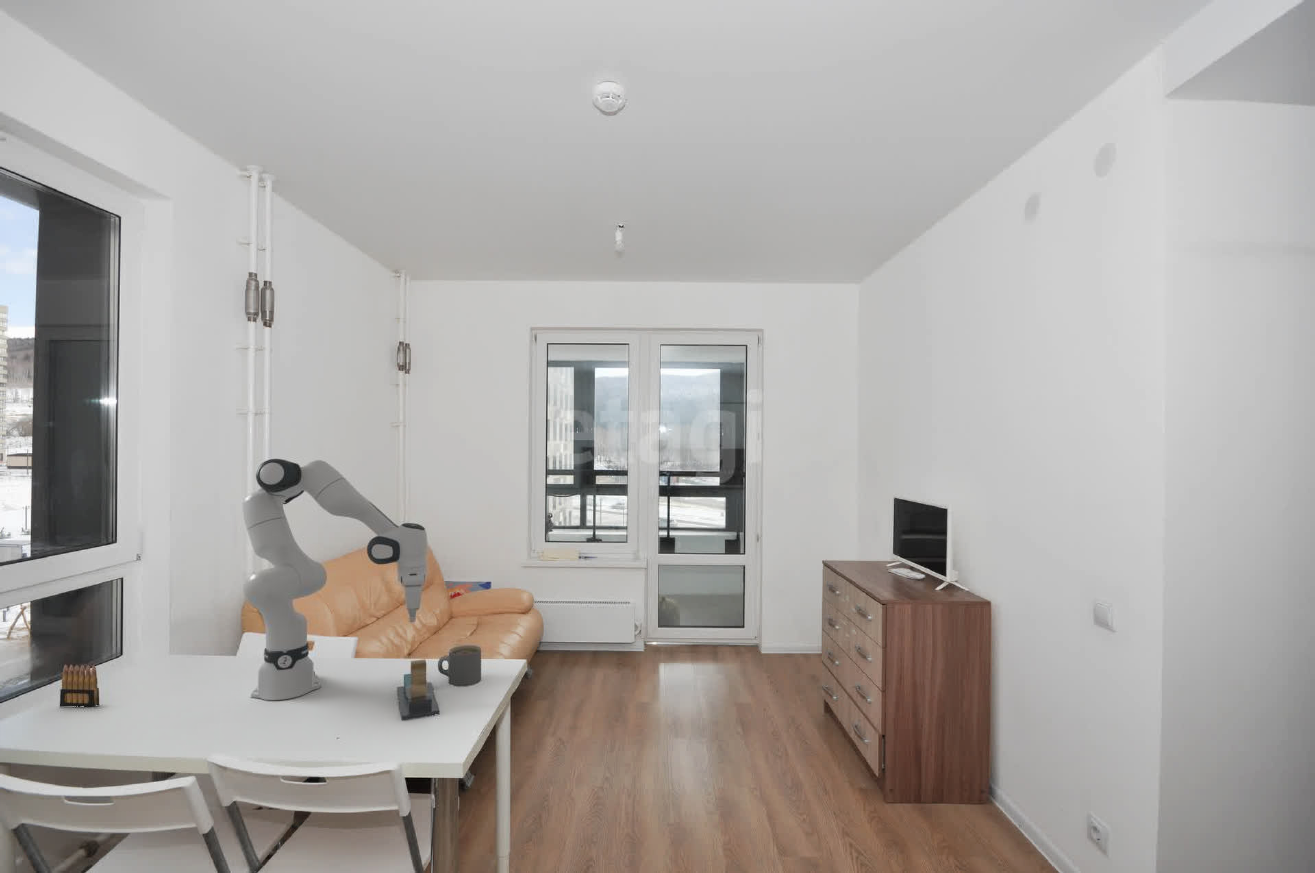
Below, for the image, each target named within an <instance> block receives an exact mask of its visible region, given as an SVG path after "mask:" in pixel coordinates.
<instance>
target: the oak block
mask: <svg viewBox="0 0 1315 873" xmlns="http://www.w3.org/2000/svg"><path fill="white" fill-rule="evenodd" d="M410 674H411V697H415V696H422V695H426V680H427V661H426V658H425V659H424V658H423V659H417V660H410Z"/></svg>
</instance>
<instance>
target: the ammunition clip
mask: <svg viewBox="0 0 1315 873" xmlns="http://www.w3.org/2000/svg"><path fill="white" fill-rule="evenodd" d="M63 666H64V667H63V670H62V677H61V678H62V679H61V688H60V690H59V692H60V693H59V707H60V706H76V707H75V708H81V707H80V706H84V707H83V708H85V707H94V706H96V705H99V706H100V690H99V687H98V674H97V668H96V666H95V665H92V668H91V667H90V665H87V666H86V668H85V666H84V665H83V664H81V666H80V667H79V665H78V664H76V665H75V666H73V664H70V666H69V667H68V665H67V664H64V665H63ZM77 706H78V707H77ZM96 707H97V706H96ZM94 708H95V707H94Z"/></svg>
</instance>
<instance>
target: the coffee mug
mask: <svg viewBox="0 0 1315 873" xmlns="http://www.w3.org/2000/svg"><path fill="white" fill-rule="evenodd" d="M444 661H445V662H447V664H448V665H447V669H444V667H443V662H444ZM437 669H438V672H439V673H440V674H441V675H444V676H446V677H448V684H449V685H451V686H452V685H453V687H458V688H459V687H462V686H463V687H469V685H470V686H473V685H474V686H475V685H477V684H478V683H480V682H481V681H482V648H481V647H480V646H479V645H472V644H467V645H465V644H464V645H459V646H455V647H452V648H450V649H449V651H448V655H447V654H446V655H443V656H441V657H440V658H439V659H438V662H437Z"/></svg>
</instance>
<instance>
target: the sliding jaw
mask: <svg viewBox="0 0 1315 873" xmlns="http://www.w3.org/2000/svg"><path fill="white" fill-rule="evenodd" d="M427 683H428V681H427V679H426V695H428V684H427ZM403 686H404V688H405V693H406V698H408V697H411V673H405V674H403Z"/></svg>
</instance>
